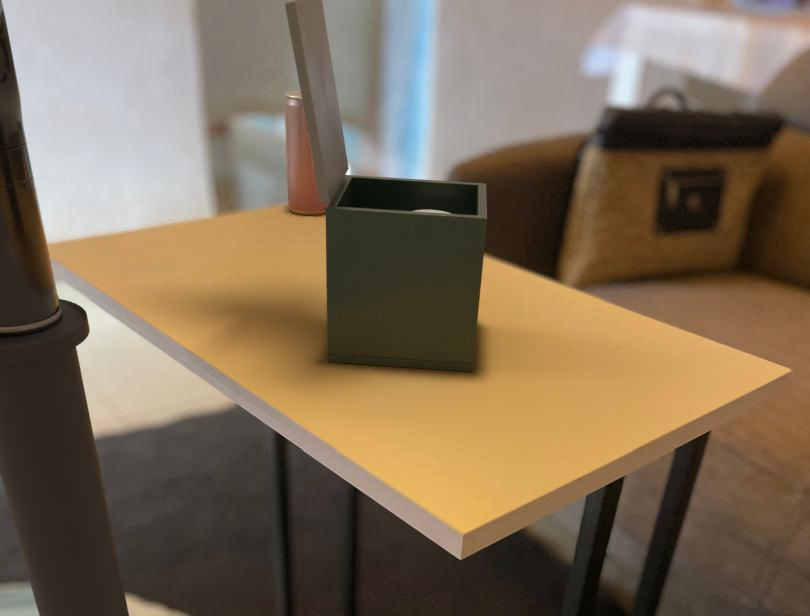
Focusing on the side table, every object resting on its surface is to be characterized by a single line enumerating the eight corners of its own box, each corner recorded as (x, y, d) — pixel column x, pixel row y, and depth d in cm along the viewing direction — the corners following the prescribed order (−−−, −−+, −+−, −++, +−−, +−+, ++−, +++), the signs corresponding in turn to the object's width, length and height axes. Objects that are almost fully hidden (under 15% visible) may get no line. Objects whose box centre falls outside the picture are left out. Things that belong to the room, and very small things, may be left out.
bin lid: (321, -7, 72) (312, -5, 72) (295, 1, 62) (284, 3, 62) (348, 169, 80) (340, 170, 80) (329, 202, 70) (320, 203, 70)
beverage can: (316, 203, 124) (313, 89, 116) (337, 212, 121) (337, 96, 112) (280, 207, 122) (275, 91, 113) (301, 217, 118) (298, 98, 109)
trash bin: (473, 322, 88) (486, 183, 80) (472, 372, 78) (487, 218, 70) (344, 313, 88) (344, 174, 80) (327, 362, 78) (325, 208, 70)
